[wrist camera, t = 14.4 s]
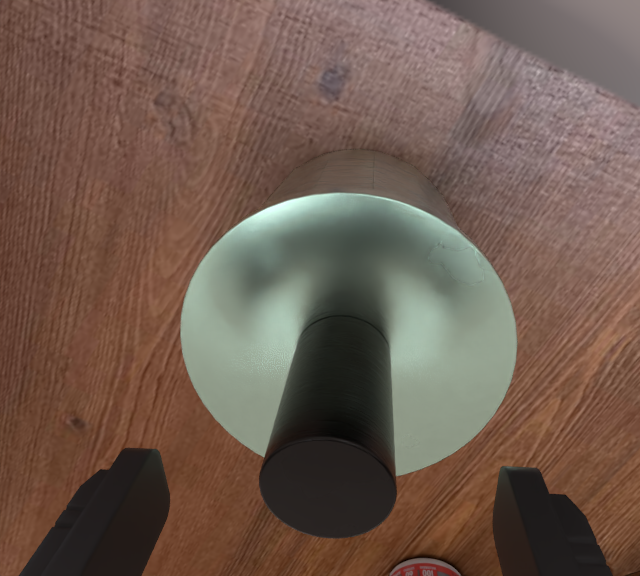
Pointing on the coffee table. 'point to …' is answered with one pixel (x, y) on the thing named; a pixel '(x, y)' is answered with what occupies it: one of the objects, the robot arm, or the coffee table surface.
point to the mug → (635, 574)
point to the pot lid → (347, 348)
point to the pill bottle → (424, 568)
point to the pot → (364, 178)
